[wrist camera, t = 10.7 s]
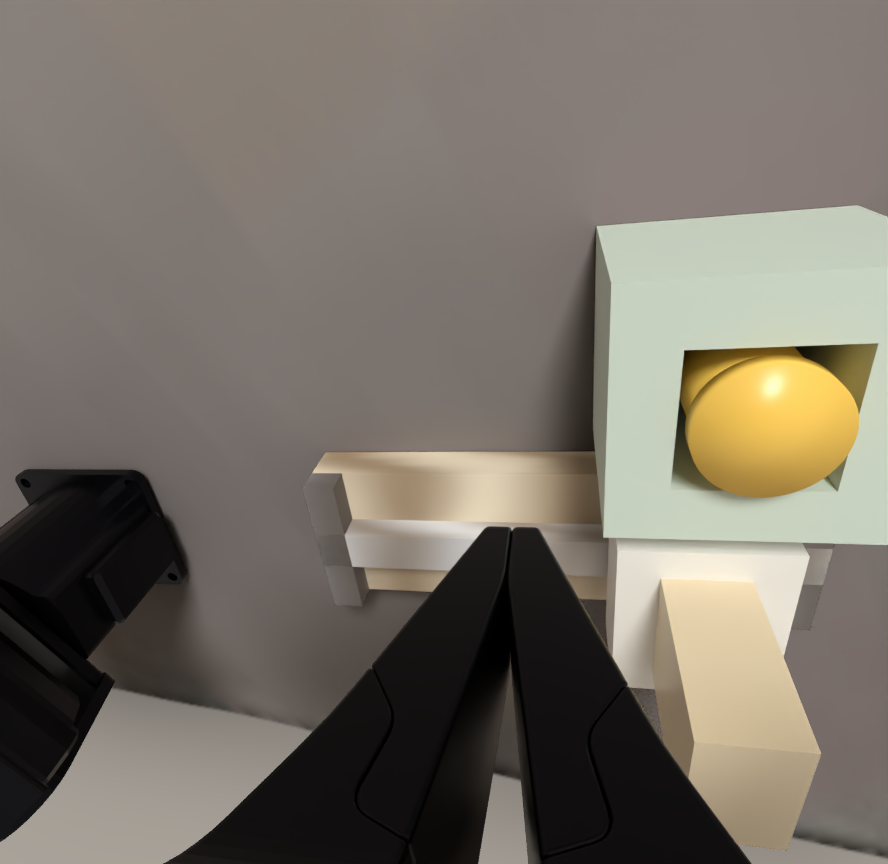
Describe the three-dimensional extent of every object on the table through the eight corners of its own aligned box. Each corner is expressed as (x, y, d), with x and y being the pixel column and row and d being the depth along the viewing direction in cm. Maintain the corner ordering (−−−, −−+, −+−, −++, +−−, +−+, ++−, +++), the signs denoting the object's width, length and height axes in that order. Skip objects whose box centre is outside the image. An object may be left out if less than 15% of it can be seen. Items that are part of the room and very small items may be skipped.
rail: (353, 563, 26) (335, 605, 24) (325, 452, 23) (302, 488, 21) (786, 579, 23) (809, 630, 21) (817, 450, 20) (848, 494, 18)
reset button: (653, 397, 19) (683, 497, 14) (660, 293, 17) (697, 368, 12) (769, 395, 18) (839, 498, 13) (789, 286, 16) (877, 362, 12)
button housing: (592, 438, 21) (602, 549, 16) (596, 226, 17) (611, 283, 12) (805, 436, 20) (891, 558, 15) (858, 205, 16) (996, 260, 11)
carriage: (605, 621, 22) (625, 850, 15) (610, 493, 19) (636, 708, 12) (748, 629, 21) (835, 877, 14) (777, 495, 18) (902, 730, 11)
